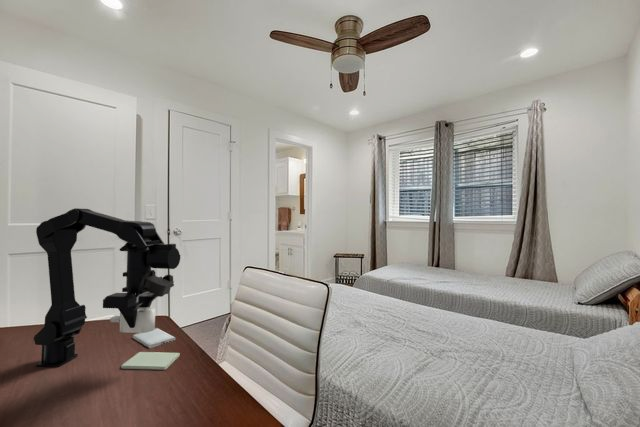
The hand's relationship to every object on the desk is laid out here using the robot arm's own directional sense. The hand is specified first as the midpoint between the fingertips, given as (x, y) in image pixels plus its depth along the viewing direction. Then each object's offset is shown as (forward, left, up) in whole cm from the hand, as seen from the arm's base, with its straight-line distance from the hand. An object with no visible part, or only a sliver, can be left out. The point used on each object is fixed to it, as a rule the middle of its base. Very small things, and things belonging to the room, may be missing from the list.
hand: (137, 324), depth 79 cm
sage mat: (+2, +3, -12) cm, 12 cm away
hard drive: (-6, +19, -13) cm, 23 cm away
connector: (-1, 0, -1) cm, 2 cm away
